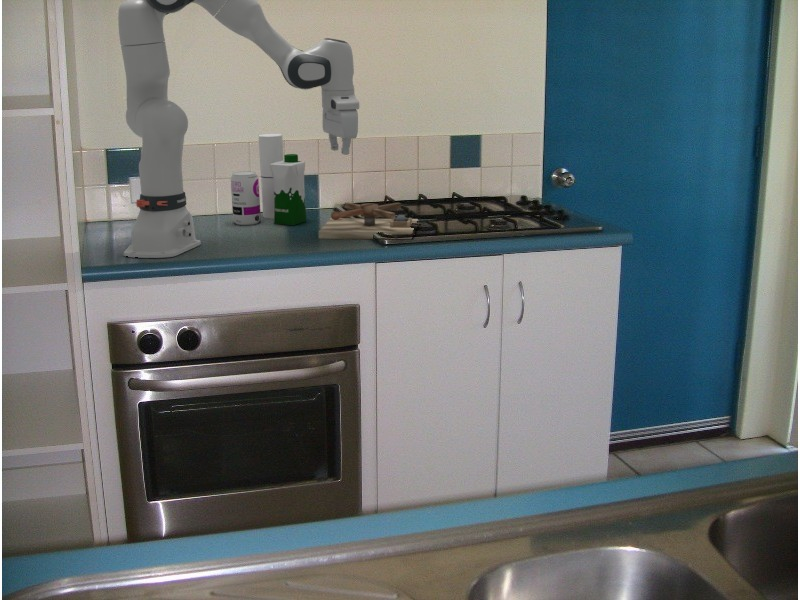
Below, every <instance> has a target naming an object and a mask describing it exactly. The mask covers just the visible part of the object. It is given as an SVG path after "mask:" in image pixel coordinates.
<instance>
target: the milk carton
mask: <svg viewBox="0 0 800 600" xmlns="http://www.w3.org/2000/svg"><path fill="white" fill-rule="evenodd" d="M270 168H271V172H272V176H273V187H274V206H275V207H274V219H273V224H274V225H275V224H277V225H284V226H285V225H287V226H296V225H300V224H302V223H305V222H307V212H306V211H307V209H306V194H305V193H306V192H305V191H306V190H305V170H306V169H305V168H306V162H305V161H302V160H301V161H300V160H299V154H296V153H289V154H283V161H280V162H275V163H273V164H270Z"/></svg>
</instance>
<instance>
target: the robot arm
mask: <svg viewBox="0 0 800 600" xmlns="http://www.w3.org/2000/svg"><path fill="white" fill-rule="evenodd" d="M190 4H197V5H199V6H200V7H202V8H203V9H204V10H206V11H207V12H208V13H209V14H210V15H211V16H212V17H213V18H214V19H215V20H216V21H218V22H219V23H220V24H221V25H223V26H225V28H227V29H228V30H230V31H232V32H233V33H234V34H236V35H239V36H242V37H244V39H247V40H249V41H251V42H252V43H253V44H255V45H256V46H257V47H258V48H260V49H261V50H262V51H263V52H264V53H265V55H267V56H268V57H269V58H270V59H272V61H274V62H275V64H276V65H277V66H278V68H279V69H280V71H281V75H282V76H283V78H284V80H285V82H286V83H287V84H289V85H290V86H291V87H292V88H295V89H298V90H299V89H300V90H305V91H307V90H312V89H314V88H318V87H320V88H321V107H322V131H323V132H324V133H326V134H328V139H329V142H330V149H331V151H334V152H335V151H339V143H338V138H341V142H342V145H341V146H342V147H341V148H340V149H341V154H342V155H344V156H346V155H347V156H348V155H350V146H351V143H352V141H351V140H355V139H356V138H357V136H358V132H359V131H358V130H359V113H358V110H360V101H359V100H358V99H357V96H356V94H355V86H354V83H353V82H354V81H353V78H354V75H355V74H354V73H355V72H354V71H355V70H354V55H353V50H352V47H351V45H350V44H349V43H348V42H346V41H345V40H342V39H336V38H328V37H326V38H323V39H322V40H321V41H320V42H317V44H315V45H313V46H312V47H310V48H308V49H305V50H301V49H299V48H296V47H295V46H293V45H292V44H291V43H289V42H288V41H287V40H286V39H285V38H284V37H283V36H282V35H281V34H280V33H279V32H278V31H277V30H276V29H274V27H273V26H272V25H271V24H270V23H269V21H268V20H267V18H266V16H265V14H264V12H263V8H262V7H261V4H260V3H259V2H258V0H125V1H123V2H122V3H121V4H120V6H119V7H118V14H117V15H118V19H117V21H118V34H119V35H118V36H119V43H120V47H121V54H122V61H123V67H124V71H125V72H124V73H125V80H126V111H125V121H126V124H127V126H128V127H129V129H130V130H131V131H132V132H133V133H134V134H135V135H136V136H137V137H139V138H141V139H142V146H141V155H140V161H139V162H138V174H139V184H140V193H139V199H136V202H135V205H136V208H138V209H140V210H139V212H138V215H137V217H136V219H135V222H134V225H133V227H132V229H131V243H130V244H129V245H128V246H127V248H126V249H125V250H124V251H123V257H126V256H128V258H135V257H138V258H137V259H139V258H141V259H150V258H151V259H161V258H162V259H163V258H164V259H165V258H172V257H176V256H179V255H181V254H183V253H185V252H187V251H191V250H192V249H194V248H197V247H199V246H201V245H202V243H201V240H199V239H197V237H196V232H195V224H194V219H193V218H194V217H193V214H192V213H191V212H190V211H189V210H188V208H187V196H186V192H185V191H184V182H183V181H184V180H183V167H182V166H183V165H182V164H183V163H182V162H183V150H184V142H185V141H184V140H185V135H186V133H187V131H188V127H189V119H188V116H187V114H186V112H185V111H184V110H183V109H182V108H181V107H180V106H179V105H178V104H177V103H175V102H174V101H171V100H169V99H168V89H169V88H168V86H169V78H170V74H171V70H170V65H169V57H168V51H167V46H166V39H165V33H164V25H163V24H164V19H165V17H166V16H167V15H168V14H174V13H177V12H180V11H182V10H183V9H184V8H186V6H188V5H190Z"/></svg>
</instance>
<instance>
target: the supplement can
mask: <svg viewBox="0 0 800 600" xmlns="http://www.w3.org/2000/svg"><path fill="white" fill-rule="evenodd" d="M230 191H231V205H232V222H233V223H235V224H236V225H238V226H252V225H258V224H259V223H260V221H262V219H261V218H262V215H261V201H260V200H261V199H260V182H259V177H258V175H257V172H256V171H245V170H244V171H243V170H242V171H236V172H232V174H231V177H230Z"/></svg>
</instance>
